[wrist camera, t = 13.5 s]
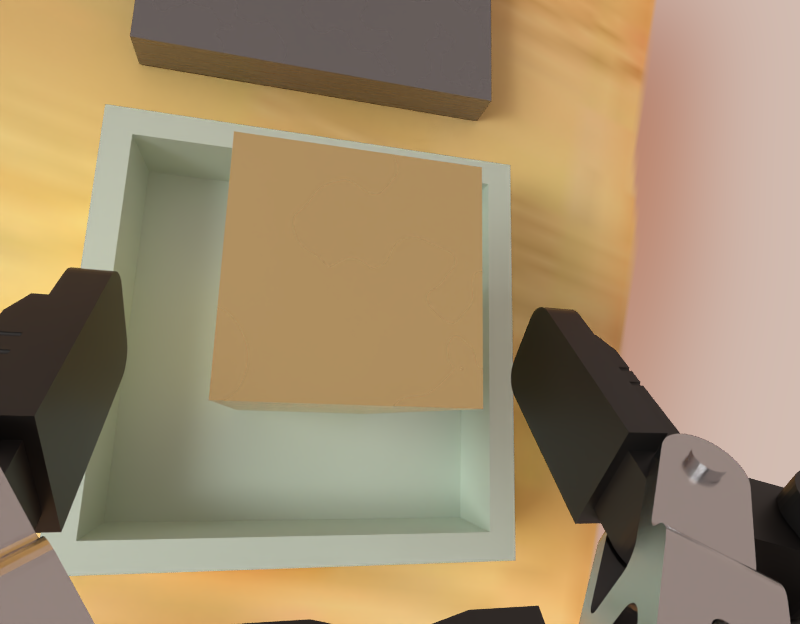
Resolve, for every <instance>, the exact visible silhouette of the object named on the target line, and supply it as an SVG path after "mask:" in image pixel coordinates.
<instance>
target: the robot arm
mask: <svg viewBox="0 0 800 624" xmlns="http://www.w3.org/2000/svg"><path fill="white" fill-rule="evenodd" d="M126 360H127V334H126V323H125V313H124V302H123V292H122V283H121V278H120V275H119V273H118V272H117V271H107V270H95V269H83V268H68V269H67V270H66V271H65V272H64V274H63V275H62V276H61V278H60V279H59V281H58V282H57V284H56V285H55V287H54V288H53V289H52V291H51V292H50V294H49V295H47V294H33V293H31V294H30V295H28V296H26V297H24V298H23V299H21V300H19V301H18V302H16V303H14V304H13V305H11V306H9V307H8V308H6V309H4V310H3V311H2V312H1V314H0V624H94V622H93V620H92V618H91V616H90V615H89V613H88V611H87V609H86V607H85V605H84V604H83V602H82V600H81V598H80V596H79V594H78V593H77V591H76V589H75V587H74V585H73V583H72V582H71V580H70V578H69V576H68V574H67V572H66V571H65V569H64V567H63V565H62V563H61V561H60V560H59V558H58V556H57V554H56V552H55V551H54V549H53V547H52V546H51V544H50V543H49V541H48V540H47V539H46V538H45V537H44V536H42V537H40V538H39V537H38V536H37V534H36V533H50V532H62V529H63V527H64V524H65V522H66V519H67V517H68V514H69V512H70V509H71V507H72V504H73V501H74V499H75V496H76V494H77V491H78V489H79V486H80V484H81V481H82V479H83V476H84V474H85V471H86V469H87V466H88V463H89V461H90V458H91V456H92V453H93V451H94V448H95V446H96V443H97V441H98V438H99V436H100V433H101V431H102V428H103V426H104V423H105V420H106V418H107V415H108V413H109V410H110V408H111V405H112V403H113V400H114V398H115V395H116V393H117V390H118V388H119V385H120V382H121V380H122V377H123V374H124V371H125V366H126ZM511 386H512V391H513V394H514V396H515V398H516V400H517V402H518V404H519V406H520V409H521V411H522V413H523V415H524V417H525V419H526V421H527V423H528V425H529V427H530V430H531V432H532V434H533V436H534V438H535V440H536V442H537V444H538V446H539V448H540V451H541V453H542V455H543V457H544V459H545V461H546V463H547V465H548V467H549V469H550V472H551V474H552V476H553V478H554V480H555V482H556V484H557V486H558V488H559V490H560V493H561V495H562V497H563V499H564V501H565V503H566V505H567V507H568V509H569V511H570V514H571V516H572V518H573V520H574V522H575V524H582V523H601V524H602V526H603V528H604V530H605V532H604V534H603V535H602V537H601V538H600V540H599V542H598V545H597V550H596V554H595V558H594V562H593V567H592V571H591V575H590V579H589V583H588V588H587V592H586V596H585V600H584V605H583V609H582V613H581V617H580V621H579V624H800V471H799V472H797V473H796V475H795V476H794V477H793V478H792V479H791V480H790V481H789V483H788V484H787V485H786V486H785V487H784V488H783V487H779V486H776V485H772V484H768V483H765V482H761V481H758V480H754V479H751V478H748V477H747V475H746V473H745V471H744V470H743V469H742V467H741V466H740V465H739V464H738V463H737V462H736V461H735V460H734V459H733V458H732V457H731V456H730V455H729V454H727V453H726V452H725V451H723V450H722V449H721V448H719V447H718V446H716V445H714V444H713V443H710V442H709V441H706V440H704V439H702V438H699V437H696V436H693V435H688V434H680V433H679V432H678V430H677V429H676V428H675V426H674V425H673V424H672V423H671V421H670V420H669V419H668V417H667V416H666V415H665V413H664V412H663V411H662V410H661V408H660V407H659V406H658V404H657V403H656V402H655V401H654V399H653V398H652V397H651V395H650V394H649V393H648V391H647V390H646V389H645V388H644V386H640V381H639V380H638V379H637V377H636V376H635V375H634V374H633V372H632V371H629V367H628V366H627V364H626V363H625V362H624V360H623V359H622V358H621V357H620V355H619V354H618V353H617V351H616V350H615V349H613V348H612V347H611V346H609V345H608V344H607V343H606V342H604V341H603V340H602V339H600V338H599V337H598V336H596V335H594V334H593V332H592V331H591V330H590V328H589V327H588V326H587V324H586V323H585V322H584V320H583V319H582V318H581V316H580V315H579V314H578V313H577V312H576V311H574V310H568V309H555V308H543V307H540V308H538V309H536V310H535V311H534V313H533V314H532V316H531V319H530V321H529V324H528V326H527V329H526V332H525V334H524V337H523V339H522V342H521V344H520V347H519V350H518V352H517V355H516V357H515V360H514V362H513V365H512V370H511ZM244 624H330V623H325V622H320V621H315V620H311V619H310V620H294V621H277V622H260V623H244ZM433 624H545V622H544V620H543V617H542V614H541V611H540V609H539V606H527V607H510V608H493V609H477V610H468V611H465V612H463V613H460V614H457V615H455V616H452V617H449V618H447V619H444V620H441V621H439V622H436V623H433Z"/></svg>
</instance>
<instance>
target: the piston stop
mask: <svg viewBox="0 0 800 624" xmlns="http://www.w3.org/2000/svg"><path fill="white" fill-rule="evenodd" d="M209 400H210V401H213V402H216V403H218V404H221V405H224V406H227V407H230V408H233V409H235V410H251V411H286V412H320V413H355V414H376V413H400V412H424V411H449V410H473V409H483V286H482V167H477V166H470V165H463V164H456V163H449V162H442V161H435V160H429V159H422V158H415V157H408V156H401V155H394V154H387V153H380V152H373V151H366V150H360V149H353V148H346V147H339V146H332V145H325V144H318V143H311V142H304V141H298V140H291V139H284V138H277V137H270V136H263V135H256V134H249V133H242V132H235V131H234V136H233V146H232V157H231V167H230V178H229V189H228V199H227V210H226V221H225V231H224V242H223V252H222V263H221V274H220V284H219V295H218V306H217V316H216V327H215V337H214V348H213V359H212V369H211V380H210V391H209Z"/></svg>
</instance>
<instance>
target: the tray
mask: <svg viewBox="0 0 800 624" xmlns="http://www.w3.org/2000/svg"><path fill="white" fill-rule="evenodd" d="M234 131H235V132H242V133H249V134H256V135H263V136H270V137H277V138H284V139H291V140H298V141H304V142H311V143H318V144H325V145H332V146H339V147H346V148H353V149H360V150H366V151H373V152H380V153H387V154H394V155H401V156H408V157H415V158H422V159H429V160H435V161H442V162H449V163H456V164H463V165H470V166H477V167H482V286H483V409H473V410H449V411H424V412H400V413H376V414H355V413H320V412H286V411H251V410H235V409H233V408H230V407H227V406H224V405H221V404H218V403H216V402H213V401H210V400H209V391H210V380H211V369H212V359H213V348H214V337H215V327H216V316H217V306H218V295H219V284H220V274H221V263H222V252H223V242H224V231H225V221H226V210H227V199H228V189H229V178H230V167H231V157H232V146H233V136H234ZM81 268H83V269H95V270H107V271H117V272H118V273H119V275H120V278H121V283H122V292H123V302H124V313H125V323H126V334H127V360H126V366H125V371H124V374H123V377H122V380H121V382H120V385H119V388H118V390H117V393H116V395H115V398H114V400H113V403H112V405H111V408H110V410H109V413H108V415H107V418H106V420H105V423H104V426H103V428H102V431H101V433H100V436H99V438H98V441H97V443H96V446H95V448H94V451H93V453H92V456H91V458H90V461H89V463H88V466H87V469H86V471H85V474H84V476H83V479H82V481H81V484H80V486H79V489H78V491H77V494H76V496H75V499H74V501H73V504H72V507H71V509H70V512H69V514H68V517H67V519H66V522H65V524H64V527H63V529H62V532H50V533H41V536H40V537H42V536H44V537H45V538H46V539H47V540H48V541H49V543H50V544H51V546H52V547H53V549H54V551H55V552H56V554H57V556H58V558H59V560H60V561H61V563H62V565H63V567H64V569H65V571H66V572H67V574H68V576H82V575H110V574H139V573H168V572H196V571H225V570H254V569H282V568H311V567H340V566H369V565H397V564H426V563H455V562H483V561H512V560H515V488H514V413H513V391H512V386H511V370H512V365H513V339H512V264H511V189H510V165H506V164H499V163H493V162H486V161H479V160H473V159H466V158H459V157H453V156H446V155H439V154H433V153H426V152H420V151H413V150H406V149H400V148H393V147H386V146H380V145H373V144H366V143H360V142H353V141H347V140H340V139H333V138H327V137H320V136H313V135H307V134H300V133H293V132H287V131H280V130H273V129H267V128H260V127H254V126H247V125H240V124H234V123H227V122H220V121H214V120H207V119H200V118H194V117H187V116H181V115H174V114H167V113H161V112H154V111H147V110H141V109H134V108H127V107H121V106H114V105H107V104H105V110H104V117H103V123H102V130H101V137H100V143H99V150H98V157H97V163H96V170H95V177H94V183H93V190H92V197H91V203H90V210H89V217H88V223H87V230H86V236H85V243H84V250H83V256H82V263H81Z"/></svg>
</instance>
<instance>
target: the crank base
mask: <svg viewBox="0 0 800 624" xmlns="http://www.w3.org/2000/svg"><path fill="white" fill-rule="evenodd" d="M130 37H131V40H132V43H133V46H134V49H135V52H136V55H137V58H138V61H139V64H143V65H148V66H154V67H160V68H166V69H172V70H178V71H184V72H190V73H196V74H202V75H208V76H214V77H220V78H225V79H231V80H237V81H243V82H249V83H255V84H261V85H267V86H273V87H279V88H285V89H291V90H297V91H303V92H308V93H314V94H320V95H326V96H332V97H338V98H344V99H350V100H356V101H362V102H368V103H374V104H380V105H386V106H391V107H397V108H403V109H409V110H415V111H421V112H427V113H433V114H439V115H445V116H451V117H457V118H463V119H469V120H474V121H477V120H478V118H479V117H480V116H481V114H482V113H483V112H484V110H485V109H486V107H487V106H488V105H489V103H490V102H491V0H135V6H134V12H133V19H132V26H131V33H130Z"/></svg>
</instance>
